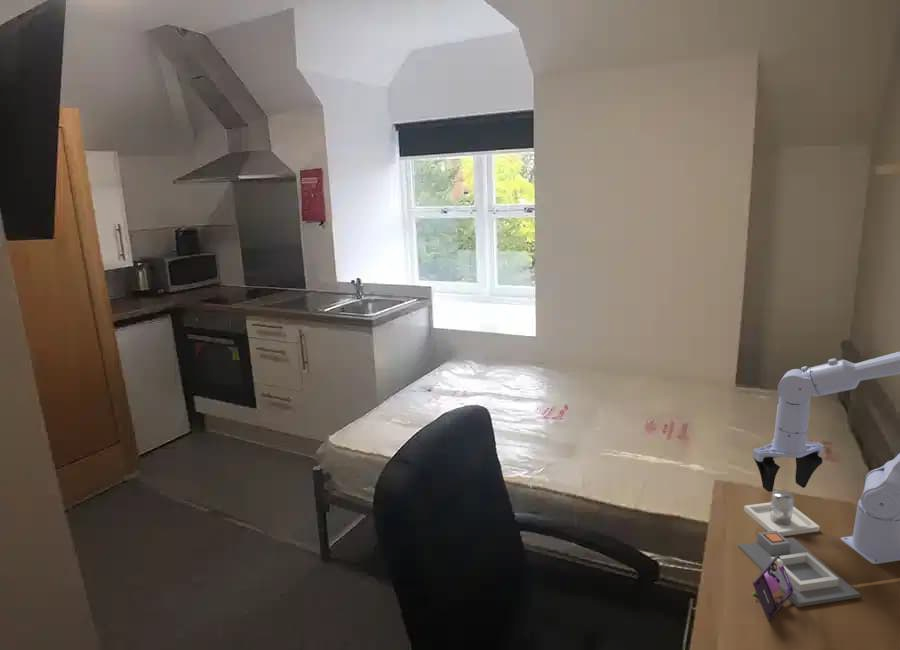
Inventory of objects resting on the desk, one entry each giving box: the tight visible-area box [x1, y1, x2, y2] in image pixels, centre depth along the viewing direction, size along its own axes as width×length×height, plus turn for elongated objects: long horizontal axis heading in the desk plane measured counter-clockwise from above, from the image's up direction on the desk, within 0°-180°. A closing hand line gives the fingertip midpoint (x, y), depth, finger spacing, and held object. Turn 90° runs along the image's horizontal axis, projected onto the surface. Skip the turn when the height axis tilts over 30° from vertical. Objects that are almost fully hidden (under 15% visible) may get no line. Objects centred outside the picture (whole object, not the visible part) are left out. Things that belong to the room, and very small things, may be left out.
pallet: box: [737, 531, 861, 608], centre depth 108 cm, size 12×16×3 cm
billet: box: [770, 489, 795, 526], centre depth 122 cm, size 4×4×6 cm
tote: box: [743, 501, 821, 537], centre depth 123 cm, size 10×10×1 cm
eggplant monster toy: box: [751, 555, 793, 621], centre depth 101 cm, size 7×5×9 cm
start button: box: [765, 533, 783, 543], centre depth 114 cm, size 2×2×2 cm
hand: (783, 487), depth 121 cm, fingers open, 7 cm apart
